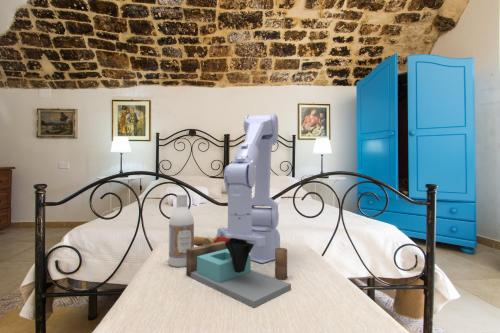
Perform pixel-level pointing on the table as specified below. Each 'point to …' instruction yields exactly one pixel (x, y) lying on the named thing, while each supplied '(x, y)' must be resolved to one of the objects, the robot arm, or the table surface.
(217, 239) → the kendama
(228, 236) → the robot arm
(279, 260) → the walnut dowel
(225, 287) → the slate board
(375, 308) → the table surface
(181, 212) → the bath foam
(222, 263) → the teal block
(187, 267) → the walnut wall
